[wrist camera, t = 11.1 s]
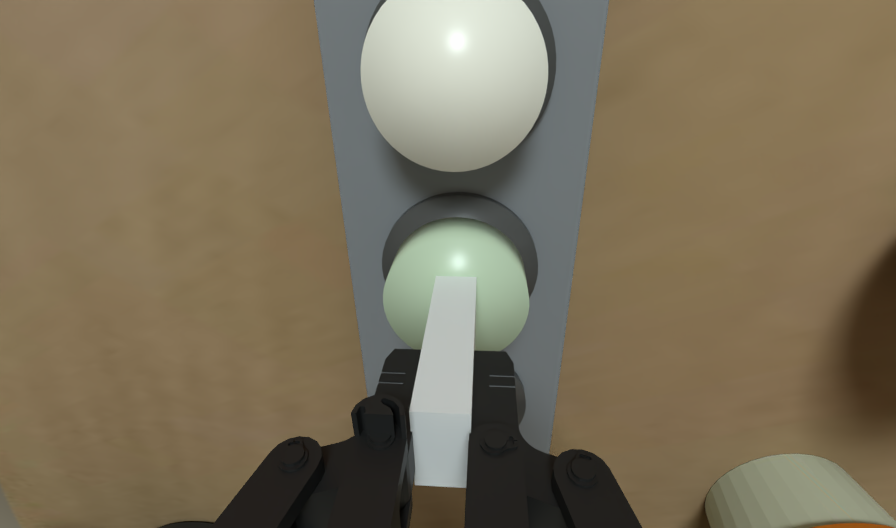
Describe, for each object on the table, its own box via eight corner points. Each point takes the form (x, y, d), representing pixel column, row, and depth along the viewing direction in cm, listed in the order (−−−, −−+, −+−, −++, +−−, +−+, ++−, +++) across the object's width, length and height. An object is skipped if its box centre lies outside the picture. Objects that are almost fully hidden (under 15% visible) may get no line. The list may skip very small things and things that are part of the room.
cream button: (382, 155, 17) (369, 171, 15) (366, -23, 14) (350, -29, 12) (534, 156, 16) (540, 172, 15) (548, -27, 14) (557, -34, 12)
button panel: (384, 406, 29) (372, 452, 26) (332, -48, 17) (300, -64, 14) (543, 413, 28) (550, 461, 25) (597, -57, 17) (622, -74, 14)
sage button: (397, 330, 20) (388, 359, 19) (387, 216, 18) (376, 237, 16) (520, 334, 20) (524, 364, 18) (529, 218, 17) (534, 239, 16)
